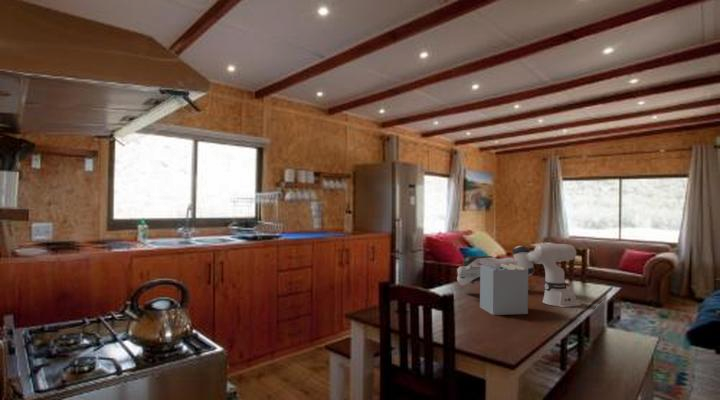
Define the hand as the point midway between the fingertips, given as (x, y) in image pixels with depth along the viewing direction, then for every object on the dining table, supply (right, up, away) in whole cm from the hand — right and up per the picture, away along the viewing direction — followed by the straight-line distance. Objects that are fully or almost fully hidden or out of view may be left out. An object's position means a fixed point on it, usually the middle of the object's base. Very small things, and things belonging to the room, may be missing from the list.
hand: (477, 266), depth 246 cm
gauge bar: (+3, +3, -14) cm, 15 cm away
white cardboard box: (+9, -23, -19) cm, 32 cm away
